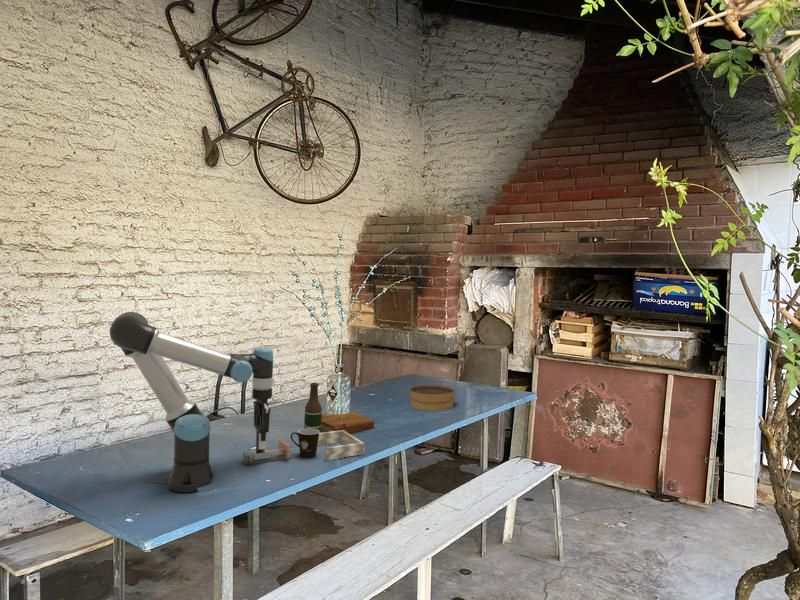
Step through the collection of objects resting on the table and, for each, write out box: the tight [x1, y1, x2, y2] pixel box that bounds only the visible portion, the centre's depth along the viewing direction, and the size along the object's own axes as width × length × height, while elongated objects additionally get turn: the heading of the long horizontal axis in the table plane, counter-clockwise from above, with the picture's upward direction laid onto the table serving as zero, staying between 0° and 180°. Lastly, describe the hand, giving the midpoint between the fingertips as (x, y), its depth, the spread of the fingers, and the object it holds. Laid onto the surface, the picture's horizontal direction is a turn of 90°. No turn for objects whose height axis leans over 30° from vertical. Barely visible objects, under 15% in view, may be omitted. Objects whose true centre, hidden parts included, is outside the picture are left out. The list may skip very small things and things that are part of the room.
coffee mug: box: [290, 428, 320, 459], centre depth 233 cm, size 12×9×10 cm
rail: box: [242, 451, 293, 466], centre depth 225 cm, size 19×4×4 cm, turn 122°
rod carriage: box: [250, 425, 291, 460], centre depth 225 cm, size 13×10×12 cm
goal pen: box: [317, 430, 366, 461], centre depth 240 cm, size 17×20×5 cm
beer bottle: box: [303, 382, 323, 433], centre depth 259 cm, size 8×8×24 cm
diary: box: [321, 410, 375, 435], centre depth 271 cm, size 23×19×6 cm
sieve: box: [408, 384, 456, 411], centre depth 318 cm, size 25×25×11 cm
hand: (260, 447), depth 223 cm, fingers closed on rod carriage, 3 cm apart
